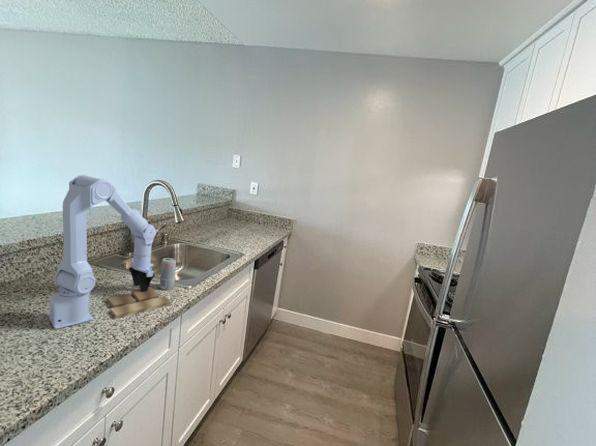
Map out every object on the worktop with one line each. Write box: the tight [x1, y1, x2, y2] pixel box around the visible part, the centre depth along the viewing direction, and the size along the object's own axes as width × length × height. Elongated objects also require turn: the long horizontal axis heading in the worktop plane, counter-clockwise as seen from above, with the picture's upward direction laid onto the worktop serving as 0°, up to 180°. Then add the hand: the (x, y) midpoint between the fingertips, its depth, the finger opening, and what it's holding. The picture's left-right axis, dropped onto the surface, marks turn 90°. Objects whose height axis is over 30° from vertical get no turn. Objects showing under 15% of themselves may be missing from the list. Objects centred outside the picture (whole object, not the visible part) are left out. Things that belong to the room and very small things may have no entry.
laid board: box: [109, 296, 172, 319], centre depth 104 cm, size 18×6×1 cm, turn 140°
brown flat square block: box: [106, 293, 137, 308], centre depth 105 cm, size 7×7×1 cm
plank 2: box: [130, 286, 160, 302], centre depth 111 cm, size 7×7×1 cm
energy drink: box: [159, 257, 177, 291], centre depth 121 cm, size 5×5×12 cm
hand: (140, 288), depth 114 cm, fingers open, 6 cm apart
